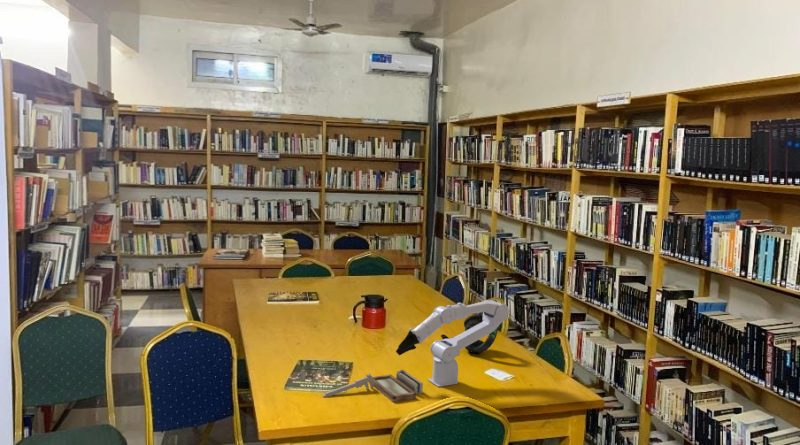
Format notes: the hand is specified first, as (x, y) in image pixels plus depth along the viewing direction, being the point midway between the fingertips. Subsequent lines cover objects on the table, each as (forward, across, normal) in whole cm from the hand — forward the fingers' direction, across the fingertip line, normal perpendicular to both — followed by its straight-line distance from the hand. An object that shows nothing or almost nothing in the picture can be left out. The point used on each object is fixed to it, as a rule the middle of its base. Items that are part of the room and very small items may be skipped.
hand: (398, 351), depth 224 cm
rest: (+10, -7, +9) cm, 15 cm away
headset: (-36, -48, +16) cm, 62 cm away
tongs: (+4, -9, +12) cm, 16 cm away
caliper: (+24, -5, 0) cm, 24 cm away
